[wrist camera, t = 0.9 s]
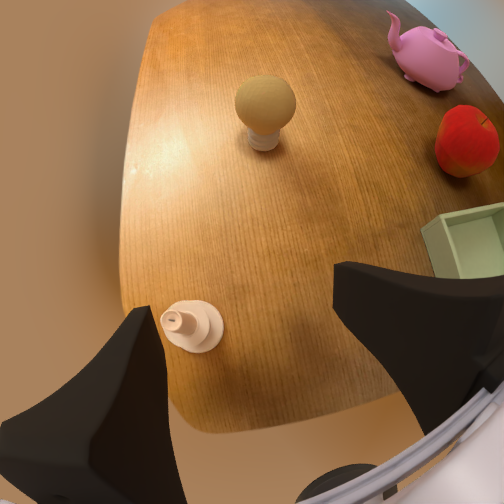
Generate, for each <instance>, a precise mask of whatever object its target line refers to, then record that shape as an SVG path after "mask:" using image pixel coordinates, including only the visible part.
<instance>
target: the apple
mask: <svg viewBox="0 0 504 504" xmlns="http://www.w3.org/2000/svg"><path fill="white" fill-rule="evenodd" d="M488 118H489V117H486V116H485V114H483V113H482V112H481V111H480V110H479V109H477V108H475V107H473V106H468V105H458V106H456V107H454V108H452V109H450V110H449V111H448V112H446V113H445V115H444V117H443V120H442V122H441V124H440V126H439V129H438V134H437V138H436V142H435V153H436V157H437V161H438V164H439V165H440V167H441V168H442V170H443V171H444V172H446V173H448V174H450V175H453V176H455V177H458V178H463V177H468V176H471V175H475V174H479V173H481V172H482V171H484V170H485V169H487V168H489V167H490V166H492V165H493V163H494V162H495V160H496V158H497V155H498V152H499V150H500V145H499V138H498V134H497V131H496V129H495V127H494V126H493V124H492V123H491V122H490V120H489V119H488Z"/></svg>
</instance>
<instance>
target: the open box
mask: <svg viewBox="0 0 504 504" xmlns="http://www.w3.org/2000/svg"><path fill="white" fill-rule="evenodd" d="M420 231H421V233H422V236H423V239H424V242H425V245H426V248H427V251H428V254H429V257H430V260H431V264H432V267H433V270H434V274H435V277H437V278H451V279H473V278H486V277H494V276H500V275H504V202H502V203H497V204H492V205H487V206H482V207H477V208H472V209H467V210H461V211H456V212H451V213H446V214H441V215H439V216H437V217H436V218H435V219H433V220H432V221H431V222H429V223H428V224H427V225H425V226H424V227H423V228H421V229H420Z"/></svg>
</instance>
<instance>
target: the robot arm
mask: <svg viewBox="0 0 504 504" xmlns="http://www.w3.org/2000/svg"><path fill="white" fill-rule="evenodd" d="M333 309H334V311H335V312H336V314H337V315H338V317H339V318H340V319H341V321H342V322H343V323H344V325H345V326H346V327H347V328H348V329H349V330H350V331H351V332H352V333H353V334H354V336H355V337H356V338H357V339H358V340H359V341H360V342H361V343H362V344H363V345H364V346H365V347H366V348H367V349H368V350H369V351H370V352H371V353H372V354H373V355H374V356H375V357H376V358H377V359H378V361H379V362H380V363H381V364H382V365H383V367H384V368H385V369H386V371H387V372H388V373H389V375H390V376H391V378H392V379H393V380H394V382H395V383H396V385H397V386H398V388H399V389H400V391H401V392H402V394H403V395H404V397H405V399H406V400H407V402H408V404H409V406H410V407H411V409H412V411H413V413H414V414H415V416H416V418H417V420H418V422H419V424H420V427H421V429H422V431H423V433H424V435H425V437H424V438H422V439H421V440H419V441H418V442H416V443H415V444H413V445H412V446H411V447H409V448H407V449H406V450H404V451H403V452H401V453H400V454H398V455H396V456H395V457H393V458H392V459H390V460H388V461H387V462H385V463H383V464H381V465H380V466H378V467H376V468H374V469H372V470H371V471H369V472H367V473H365V474H363V475H361V476H359V477H357V478H355V479H353V480H351V481H349V482H347V483H345V484H343V485H340V486H338V487H336V488H334V489H331V490H329V491H327V492H324V493H322V494H320V495H317V496H315V497H312V498H309V499H307V500H304V501H301V502H298V503H295V504H504V275H500V276H494V277H486V278H473V279H451V278H437V277H428V276H420V275H415V274H409V273H404V272H399V271H394V270H390V269H386V268H381V267H377V266H372V265H368V264H363V263H358V262H350V261H345V262H341V263H338V264H334V285H333ZM464 432H465V433H464ZM463 433H464V434H463ZM462 434H463V435H462ZM461 435H462V436H461ZM460 436H461V437H460ZM459 437H460V438H459ZM458 438H459V439H458ZM457 439H458V441H457V442H456V444H455V445H454V447H453V448H452V450H451V451H450V452H449V453H448V454H447V456H446V457H445V458H444V459H442V460H441V461H440V462H439V463H437V464H436V465H435V466H433V467H432V468H431V469H429V470H428V471H427V472H426V473H424V474H423V475H422V476H420V477H419V478H417V479H416V480H415V481H413V482H412V483H411V484H409V485H408V486H406V487H405V488H403V489H402V490H400V491H399V492H397V493H396V494H394V495H393V496H391V497H390V498H388V499H386V500H385V501H384V500H383V492H384V491H386V490H388V489H389V488H391V487H393V486H394V485H396V484H398V483H399V482H401V481H402V480H404V479H405V478H407V477H408V476H410V475H411V474H413V473H414V472H416V471H417V470H419V469H420V468H421V467H423V466H424V465H425V464H427V463H428V462H429V461H430V460H432V459H433V458H435V457H436V456H437V455H439V454H440V453H441V452H442V451H443V450H445V449H446V448H447V447H448V446H449V445H451V444H452V443H453V442H454V441H455V440H457ZM0 474H1V475H2V476H3V477H4V478H5V479H6V480H7V481H9V482H10V483H11V484H12V485H14V486H15V487H16V488H17V489H19V490H20V491H21V492H23V493H24V494H26V495H27V496H29V497H30V498H31V499H33V500H34V501H36V502H37V503H38V504H187V501H186V498H185V495H184V491H183V487H182V484H181V480H180V477H179V473H178V469H177V465H176V460H175V456H174V451H173V446H172V441H171V436H170V429H169V416H168V383H167V367H166V359H165V352H164V348H163V345H162V342H161V339H160V336H159V333H158V330H157V327H156V324H155V321H154V318H153V315H152V312H151V308H150V305H148V306H143V307H138V308H133V310H132V311H131V312H130V313H129V314H128V316H127V317H126V318H125V320H124V321H123V323H122V324H121V325H120V326H119V328H118V329H117V330H116V332H115V333H114V334H113V336H112V337H111V338H110V339H109V341H108V342H107V343H106V344H105V345H104V346H103V348H102V349H101V350H100V351H99V353H98V354H97V355H96V356H95V357H94V358H93V359H92V360H91V361H90V362H89V363H88V364H87V365H86V366H85V367H84V368H83V369H82V370H81V371H80V372H79V373H78V374H77V375H76V376H74V377H73V378H72V379H71V380H70V381H68V382H67V383H66V384H65V385H64V386H62V387H61V388H60V389H59V390H57V391H56V392H55V393H53V394H52V395H50V396H49V397H47V398H46V399H44V400H43V401H41V402H40V403H38V404H36V405H35V406H33V407H31V408H30V409H28V410H26V411H24V412H22V413H20V414H19V415H16V416H14V417H12V418H10V419H8V420H6V421H4V422H2V424H1V427H0ZM0 504H16V503H12V502H9V501H6V500H3V499H0Z"/></svg>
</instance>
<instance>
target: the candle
mask: <svg viewBox="0 0 504 504" xmlns="http://www.w3.org/2000/svg"><path fill="white" fill-rule="evenodd" d="M160 321H161V325H162V327H163V329H164V332H165V335H166V336H167V338H168V339H169V341H171V342H172V343H173V344H174V345H176V346H178V347H182V348H183V349H184V350H186V351H189V352H192V353H204V352H207V351H209V350H211V349H213V348H214V347H215V346H217V344H218V343H219V342H220V340H221V338H222V336H223V331H224V323H223V319H222V317H221V314H220V313H219V311H218V310H217V309H216V308H215V307H214V306H212V305H211V304H209V303H207V302H205V301H200V300H194V301H187V300H185V301H179V302H176V303H174V304H173V305H172V306H170V307H169V309H168V310H167V311H165V312H164V313H163V314H162V316H161V319H160Z"/></svg>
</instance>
